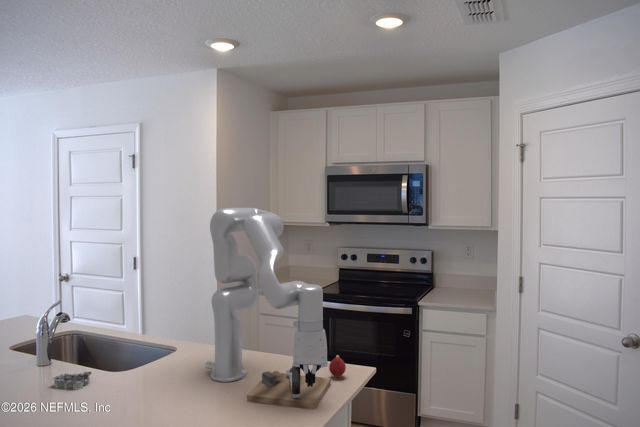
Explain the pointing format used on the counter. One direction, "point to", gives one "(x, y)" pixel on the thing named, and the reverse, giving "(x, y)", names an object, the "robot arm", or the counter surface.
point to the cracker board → (288, 391)
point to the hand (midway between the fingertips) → (310, 385)
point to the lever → (294, 381)
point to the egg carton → (72, 380)
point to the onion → (337, 367)
